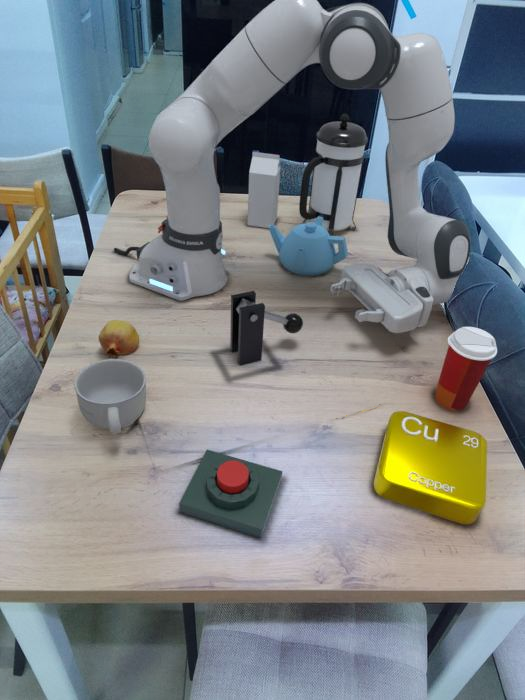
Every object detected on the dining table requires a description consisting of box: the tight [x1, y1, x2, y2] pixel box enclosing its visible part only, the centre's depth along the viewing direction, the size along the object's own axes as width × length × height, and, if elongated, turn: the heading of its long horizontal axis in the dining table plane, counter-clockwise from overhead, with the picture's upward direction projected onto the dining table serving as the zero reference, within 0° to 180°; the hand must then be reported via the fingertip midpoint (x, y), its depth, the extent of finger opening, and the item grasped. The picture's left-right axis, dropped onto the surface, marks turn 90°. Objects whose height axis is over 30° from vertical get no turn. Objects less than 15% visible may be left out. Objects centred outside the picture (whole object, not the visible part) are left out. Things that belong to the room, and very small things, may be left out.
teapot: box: [268, 216, 349, 277], centre depth 122 cm, size 15×15×11 cm
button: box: [217, 461, 249, 494], centre depth 70 cm, size 4×4×2 cm
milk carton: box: [247, 151, 282, 229], centre depth 136 cm, size 7×7×19 cm
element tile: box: [373, 410, 488, 525], centre depth 77 cm, size 15×15×5 cm
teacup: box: [73, 358, 147, 435], centre depth 80 cm, size 14×11×8 cm
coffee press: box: [298, 113, 369, 236], centre depth 131 cm, size 17×16×30 cm
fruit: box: [98, 319, 140, 359], centre depth 94 cm, size 7×7×10 cm
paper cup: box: [434, 326, 498, 412], centre depth 86 cm, size 8×8×14 cm
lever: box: [236, 298, 304, 334], centre depth 92 cm, size 14×4×4 cm, turn 113°
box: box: [178, 449, 283, 539], centre depth 72 cm, size 12×10×4 cm
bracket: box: [229, 290, 266, 366], centre depth 92 cm, size 10×8×14 cm
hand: (344, 302), depth 98 cm, fingers open, 8 cm apart
